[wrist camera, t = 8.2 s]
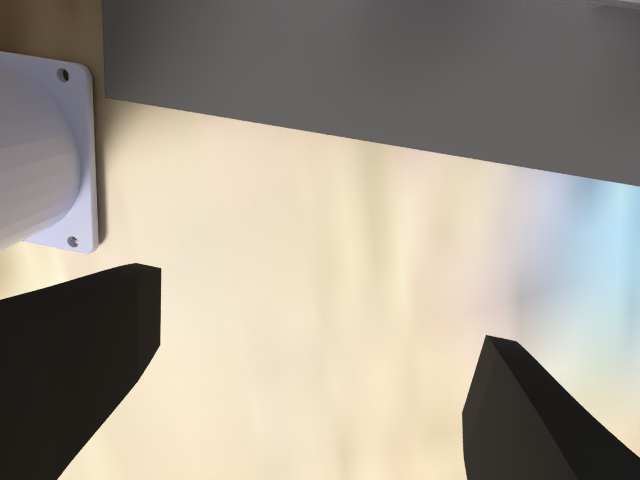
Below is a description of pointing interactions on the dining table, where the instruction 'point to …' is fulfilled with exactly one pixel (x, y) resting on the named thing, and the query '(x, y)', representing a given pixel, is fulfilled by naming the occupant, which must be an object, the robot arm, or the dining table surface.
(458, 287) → the dining table surface
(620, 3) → the grey metal plate
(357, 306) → the dining table surface
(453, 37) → the dark grey backing panel
